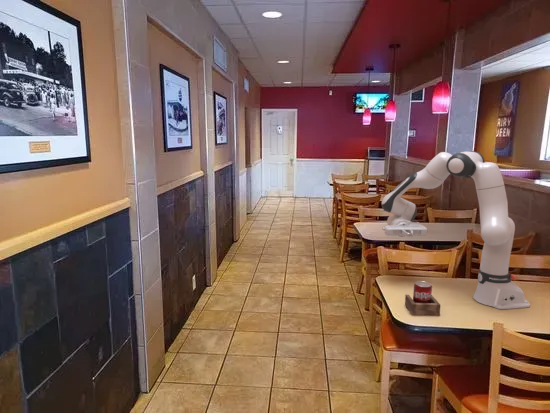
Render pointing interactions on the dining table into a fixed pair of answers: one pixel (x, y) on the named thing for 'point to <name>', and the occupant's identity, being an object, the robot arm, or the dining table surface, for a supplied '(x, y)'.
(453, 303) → the dining table surface
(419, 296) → the soda can
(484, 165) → the robot arm
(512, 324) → the dining table surface
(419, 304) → the brown wooden u-shaped frame
